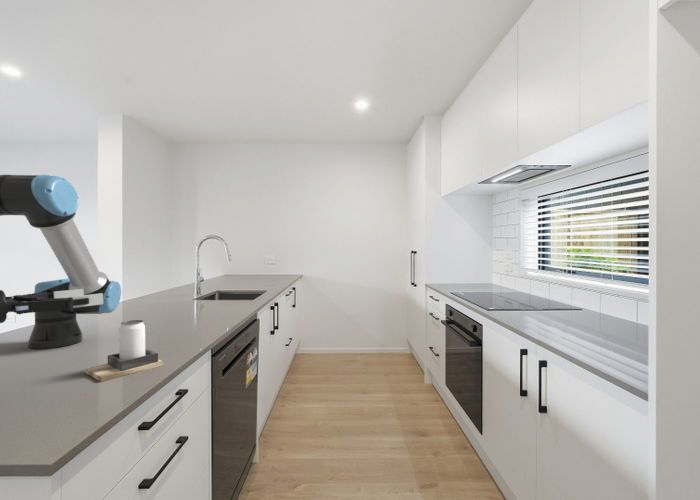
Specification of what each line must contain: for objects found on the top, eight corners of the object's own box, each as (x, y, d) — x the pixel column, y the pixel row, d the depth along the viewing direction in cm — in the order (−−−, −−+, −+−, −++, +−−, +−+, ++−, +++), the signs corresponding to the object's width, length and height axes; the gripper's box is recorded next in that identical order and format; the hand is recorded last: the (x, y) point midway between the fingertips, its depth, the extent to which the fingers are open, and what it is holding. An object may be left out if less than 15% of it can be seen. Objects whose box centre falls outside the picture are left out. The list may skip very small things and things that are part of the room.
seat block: (85, 373, 100) (85, 359, 100) (145, 358, 113) (145, 346, 113) (101, 381, 93) (101, 367, 93) (163, 365, 106) (163, 352, 106)
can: (133, 367, 101) (132, 324, 100) (113, 365, 102) (113, 323, 102) (150, 360, 107) (150, 320, 107) (132, 358, 108) (131, 319, 108)
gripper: (-30, 318, 86) (76, 304, 104) (-8, 334, 72) (112, 316, 89) (-32, 287, 86) (75, 279, 103) (-9, 297, 71) (111, 285, 89)
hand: (92, 296), depth 96 cm, fingers open, 13 cm apart
